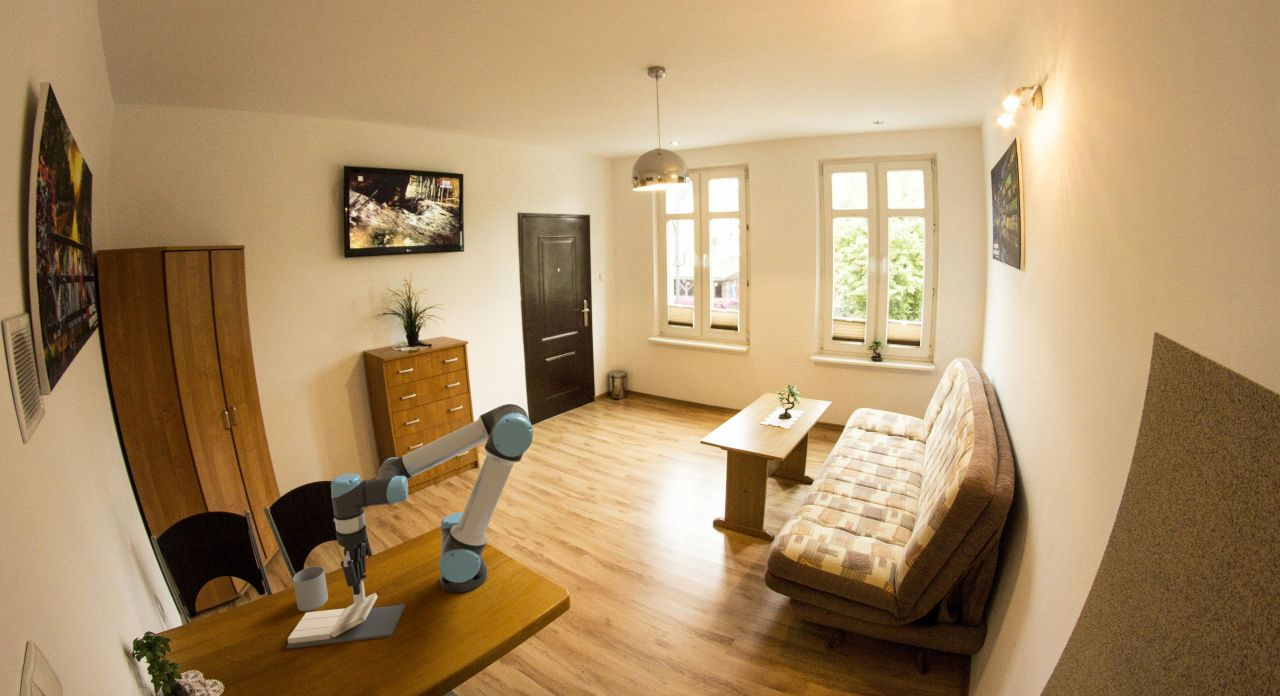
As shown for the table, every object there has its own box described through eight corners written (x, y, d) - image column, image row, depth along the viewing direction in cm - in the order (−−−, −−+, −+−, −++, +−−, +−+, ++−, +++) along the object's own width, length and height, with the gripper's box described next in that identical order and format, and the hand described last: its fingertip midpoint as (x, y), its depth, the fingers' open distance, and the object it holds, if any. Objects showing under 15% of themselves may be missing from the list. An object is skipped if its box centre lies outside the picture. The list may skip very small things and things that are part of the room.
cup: (313, 612, 162) (309, 583, 160) (290, 609, 163) (286, 580, 162) (334, 595, 170) (330, 567, 168) (312, 592, 171) (308, 565, 170)
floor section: (405, 606, 164) (404, 599, 163) (392, 636, 151) (391, 628, 150) (308, 617, 160) (307, 610, 159) (287, 648, 147) (285, 640, 146)
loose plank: (377, 596, 161) (374, 592, 160) (364, 620, 150) (361, 616, 150) (348, 612, 160) (345, 608, 160) (332, 637, 149) (329, 633, 149)
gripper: (346, 517, 156) (354, 589, 160) (327, 541, 143) (337, 617, 147) (372, 515, 157) (380, 586, 161) (356, 538, 144) (365, 614, 149)
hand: (359, 601), depth 154 cm, fingers closed
